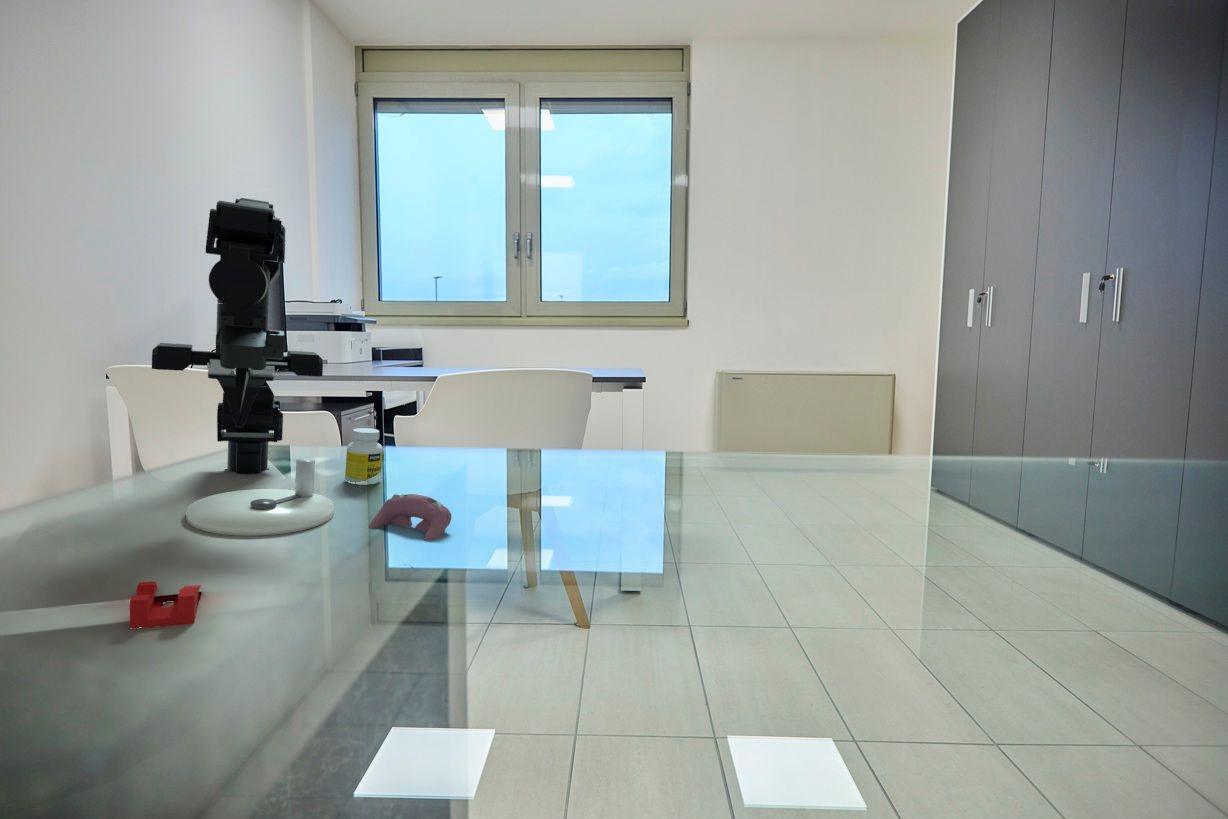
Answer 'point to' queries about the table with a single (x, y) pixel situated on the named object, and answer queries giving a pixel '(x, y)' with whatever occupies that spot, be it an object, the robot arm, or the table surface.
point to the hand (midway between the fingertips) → (239, 426)
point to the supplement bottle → (363, 455)
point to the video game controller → (414, 514)
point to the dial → (264, 508)
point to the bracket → (151, 612)
